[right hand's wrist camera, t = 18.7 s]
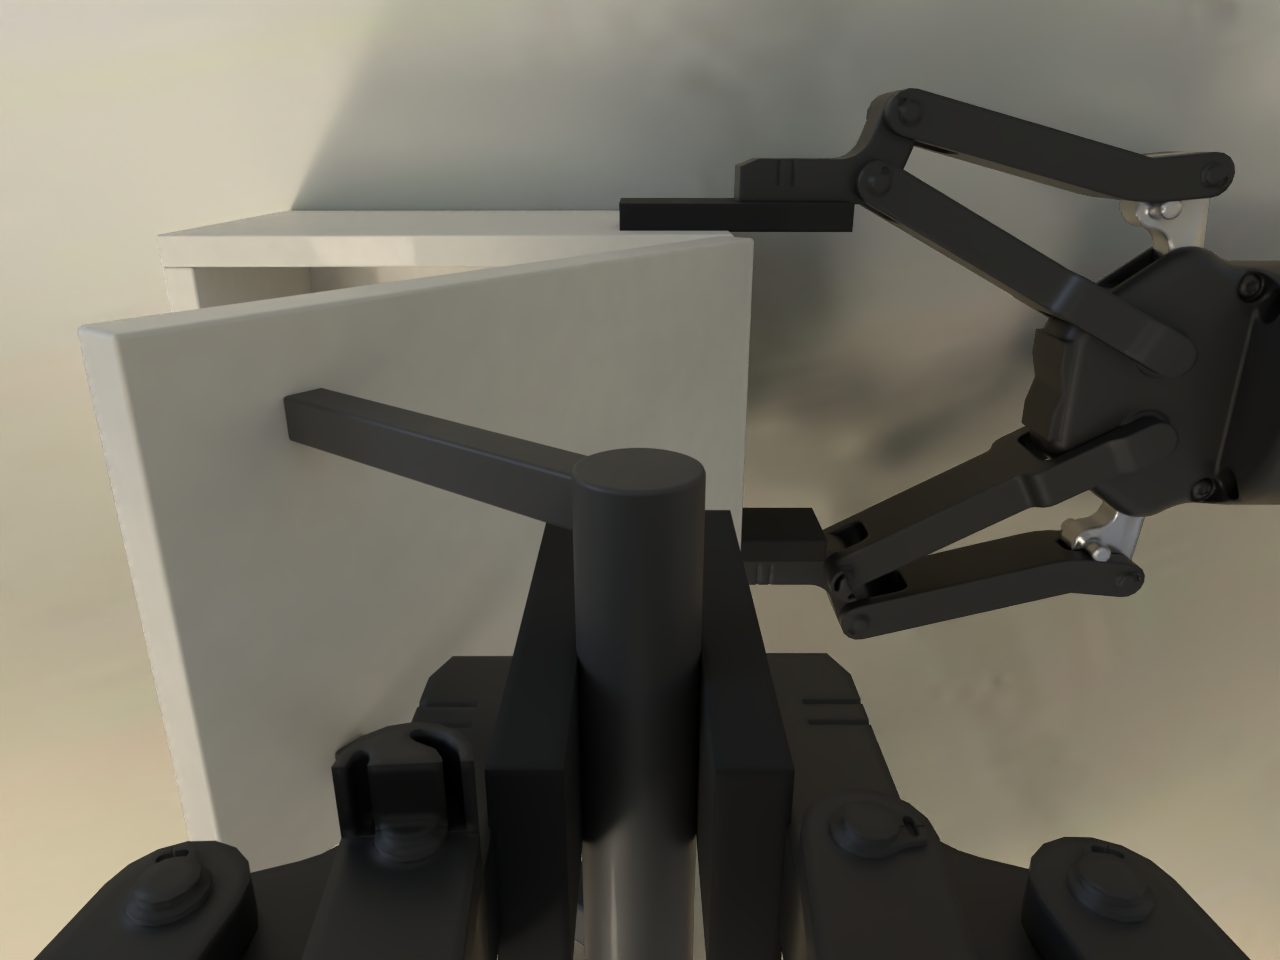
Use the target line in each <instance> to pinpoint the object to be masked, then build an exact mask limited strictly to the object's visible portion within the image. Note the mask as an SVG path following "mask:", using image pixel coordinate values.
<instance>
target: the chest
mask: <svg viewBox="0 0 1280 960" xmlns="http://www.w3.org/2000/svg"><path fill="white" fill-rule="evenodd" d="M717 236H726V237H734V235H733V234H732V233H730V232H729V231H620V222H619V210H496V211H284V212H278V213H273V214H268V215H262V216H257V217H252V218H246V219H241V220H236V221H230V222H225V223H220V224H214V225H209V226H204V227H198V228H193V229H188V230H182V231H177V232H172V233H166V234H161V235H157V242H158V248H159V253H160V259H161V264H162V266H163V267H165V268H163V273H164V278H165V284H166V289H167V295H168V300H169V306H170V311H171V313H173V312H180V311H187V310H195V309H202V308H209V307H216V306H223V305H230V304H237V303H245V302H252V301H259V300H266V299H273V298H280V297H288V296H295V295H302V294H309V293H316V292H323V291H330V290H338V289H345V288H352V287H359V286H366V285H373V284H381V283H388V282H395V281H402V280H409V279H416V278H423V277H431V276H438V275H445V274H452V273H459V272H466V271H474V270H481V269H488V268H495V267H502V266H509V265H516V264H524V263H531V262H538V261H545V260H552V259H559V258H567V257H574V256H581V255H588V254H595V253H602V252H610V251H617V250H624V249H631V248H638V247H645V246H652V245H660V244H667V243H674V242H681V241H688V240H695V239H703V238H710V237H717Z"/></svg>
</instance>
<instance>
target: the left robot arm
mask: <svg viewBox="0 0 1280 960" xmlns="http://www.w3.org/2000/svg"><path fill="white" fill-rule="evenodd" d="M866 119H867V121H866V124H865V126H864V128H863V131H862V133H861V136H860V138H859V140H858V142H857V144H856V145H855V147H854V148H853V149H852V150H851V151H850V152H848V153H847V154H846V155H844V156H841V157H839V158H752V159H750V160H747V161H745V162H743V163H740V164H738V165H735V188H734V198H621V200H620V203H619V222H620V231H729V232H852V228H853V216H854V204H859V205H861V206H862V207H864V208H866V209H868V210H869V211H871V212H873V213H874V214H876V215H878V216H879V217H881V218H883V219H884V220H886V221H888V222H890V223H891V224H893V225H895V226H896V227H898V228H900V229H901V230H903V231H905V232H906V233H908V234H910V235H911V236H913V237H915V238H917V239H918V240H920V241H922V242H923V243H925V244H927V245H928V246H930V247H932V248H933V249H935V250H937V251H939V252H940V253H942V254H944V255H945V256H947V257H949V258H950V259H952V260H954V261H955V262H957V263H959V264H961V265H962V266H964V267H966V268H967V269H969V270H971V271H972V272H974V273H976V274H977V275H979V276H981V277H982V278H984V279H986V280H988V281H989V282H991V283H993V284H994V285H996V286H998V287H999V288H1001V289H1003V290H1004V291H1006V292H1008V293H1009V294H1011V295H1013V296H1014V297H1015V298H1016V299H1018V300H1019V301H1021V302H1023V303H1024V304H1026V305H1028V306H1030V307H1031V308H1033V309H1035V310H1036V311H1038V312H1040V313H1041V314H1043V315H1045V316H1046V317H1048V318H1049V319H1048V321H1047V323H1046V324H1045V326H1044V329H1036V333H1035V340H1034V346H1033V352H1032V353H1033V362H1034V370H1035V378H1034V381H1033V383H1032V385H1031V388H1030V390H1029V392H1028V395H1027V397H1026V399H1025V404H1024V410H1023V417H1022V423H1023V424H1024V425H1026V426H1025V427H1022V428H1020V429H1018V430H1016V431H1014V432H1012V433H1010V434H1008V435H1006V436H1004V437H1002V438H1000V439H998V440H996V441H995V442H994V443H993V445H992V447H991V449H990V450H989V451H987V452H985V453H983V454H981V455H979V456H977V457H975V458H973V459H971V460H969V461H967V462H964V463H962V464H960V465H958V466H956V467H954V468H952V469H950V470H948V471H946V472H943V473H941V474H939V475H937V476H935V477H933V478H931V479H929V480H927V481H925V482H922V483H920V484H918V485H916V486H914V487H912V488H910V489H908V490H906V491H904V492H902V493H899V494H897V495H895V496H893V497H891V498H889V499H887V500H885V501H883V502H881V503H878V504H876V505H874V506H872V507H870V508H868V509H866V510H864V511H862V512H860V513H857V514H855V515H853V516H851V517H849V518H847V519H845V520H843V521H841V522H839V523H836V524H834V525H832V526H830V527H828V528H826V529H824V530H822V528H821V526H820V524H819V522H818V520H817V518H816V516H815V514H814V512H813V509H812V508H742V530H741V555H742V559H743V563H744V567H745V571H746V575H747V579H748V583H749V585H756V584H759V585H768V584H771V585H817V586H819V587H822V588H823V589H825V590H826V591H827V594H828V597H829V599H830V602H831V604H832V607H833V609H834V612H835V614H836V616H837V619H838V621H839V623H840V625H841V628H842V630H843V632H844V634H846V635H847V636H848V637H849V638H852V639H865V638H870V637H874V636H879V635H883V634H888V633H892V632H897V631H901V630H906V629H910V628H915V627H919V626H924V625H928V624H933V623H937V622H941V621H946V620H950V619H955V618H959V617H964V616H968V615H973V614H977V613H982V612H986V611H991V610H995V609H1000V608H1004V607H1009V606H1013V605H1018V604H1022V603H1027V602H1031V601H1036V600H1040V599H1044V598H1049V597H1053V596H1058V595H1062V594H1067V593H1081V594H1092V595H1104V596H1116V597H1126V596H1130V595H1132V594H1134V593H1136V592H1137V591H1138V590H1139V589H1140V588H1141V587H1142V585H1143V583H1144V577H1145V575H1144V573H1143V570H1142V569H1141V568H1140V567H1139V566H1137V565H1136V564H1135V563H1134V562H1133V561H1132V556H1133V553H1134V550H1135V546H1136V543H1137V540H1138V537H1139V534H1140V531H1141V528H1142V524H1143V521H1144V518H1145V517H1146V516H1151V515H1154V514H1157V513H1159V512H1161V511H1163V510H1165V509H1168V508H1170V507H1173V506H1176V505H1179V504H1183V503H1189V502H1196V503H1210V504H1227V505H1280V261H1226V260H1224V259H1221V258H1220V257H1218V256H1217V255H1215V254H1214V253H1213V252H1211V251H1209V250H1207V249H1204V241H1205V233H1206V225H1207V217H1208V209H1209V201H1210V198H1211V197H1215V196H1218V195H1220V194H1221V193H1223V192H1224V191H1225V190H1227V188H1228V187H1229V186H1230V184H1231V183H1232V181H1233V178H1234V174H1235V166H1234V163H1233V161H1232V159H1231V157H1229V156H1228V155H1226V154H1225V153H1219V152H1158V153H1147V154H1138V153H1134V152H1131V151H1128V150H1124V149H1121V148H1117V147H1114V146H1111V145H1107V144H1104V143H1100V142H1097V141H1094V140H1090V139H1087V138H1083V137H1080V136H1077V135H1073V134H1070V133H1066V132H1063V131H1060V130H1056V129H1053V128H1049V127H1046V126H1043V125H1039V124H1036V123H1032V122H1029V121H1026V120H1022V119H1019V118H1015V117H1012V116H1009V115H1005V114H1002V113H998V112H995V111H992V110H988V109H985V108H981V107H978V106H975V105H971V104H968V103H964V102H961V101H958V100H954V99H951V98H947V97H944V96H941V95H937V94H934V93H930V92H927V91H924V90H920V89H912V88H909V89H904V90H899V91H895V92H890V93H886V94H883V95H880V96H878V97H877V98H876V99H874V100H873V101H872V102H871V104H870V106H869V108H868V111H867V118H866ZM913 146H915V147H918V148H922V149H925V150H929V151H932V152H936V153H939V154H943V155H946V156H950V157H953V158H956V159H960V160H963V161H967V162H970V163H974V164H977V165H981V166H984V167H988V168H991V169H995V170H998V171H1002V172H1005V173H1009V174H1012V175H1016V176H1019V177H1023V178H1026V179H1029V180H1033V181H1036V182H1040V183H1043V184H1047V185H1050V186H1054V187H1057V188H1061V189H1064V190H1068V191H1071V192H1075V193H1078V194H1083V195H1087V196H1092V197H1100V198H1109V199H1118V200H1121V201H1120V204H1119V207H1120V210H1121V214H1122V217H1123V219H1124V220H1125V221H1126V222H1127V223H1128V224H1130V225H1133V226H1138V227H1143V228H1144V229H1146V230H1148V232H1149V233H1150V234H1151V236H1152V239H1153V247H1152V248H1150V249H1148V250H1146V251H1145V252H1143V253H1141V254H1140V255H1138V256H1137V257H1135V258H1134V259H1132V260H1131V261H1129V262H1128V263H1126V264H1125V265H1123V266H1121V267H1120V268H1118V269H1117V270H1115V271H1114V272H1112V273H1111V274H1109V275H1108V276H1106V277H1105V278H1103V279H1101V280H1100V281H1098V282H1097V283H1094V282H1092V281H1090V280H1089V279H1087V278H1085V277H1083V276H1080V275H1078V274H1076V273H1074V272H1072V271H1070V270H1068V269H1067V268H1065V267H1063V266H1062V265H1060V264H1058V263H1057V262H1055V261H1053V260H1052V259H1050V258H1048V257H1047V256H1045V255H1043V254H1042V253H1040V252H1039V251H1037V250H1035V249H1034V248H1032V247H1030V246H1029V245H1027V244H1025V243H1024V242H1022V241H1020V240H1019V239H1017V238H1015V237H1014V236H1012V235H1010V234H1009V233H1007V232H1005V231H1004V230H1002V229H1001V228H999V227H997V226H996V225H994V224H992V223H991V222H989V221H987V220H986V219H984V218H982V217H981V216H979V215H977V214H976V213H974V212H972V211H971V210H969V209H967V208H966V207H964V206H963V205H961V204H959V203H958V202H956V201H954V200H953V199H951V198H949V197H948V196H946V195H944V194H943V193H941V192H939V191H938V190H936V189H934V188H933V187H931V186H929V185H928V184H926V183H925V182H923V181H921V180H920V179H918V178H916V177H915V176H913V175H911V174H910V173H908V172H906V171H905V170H903V169H904V167H905V165H906V162H907V160H908V158H909V155H910V153H911V151H912V149H913ZM1048 458H1049V459H1050V460H1046V459H1048ZM1087 490H1090V491H1091V492H1093V493H1094V494H1095V495H1097V496H1098V497H1099V498H1100V499H1102V500H1103V502H1102V505H1101V507H1100V508H1099V509H1098V511H1097V512H1096V513H1094V514H1093V515H1091V516H1089V517H1086V518H1080V519H1067V520H1065V521H1064V522H1063V523H1062V525H1061V531H1057V530H1045V531H1034V532H1028V533H1023V534H1018V535H1014V536H1009V537H1005V538H1001V539H996V540H992V541H988V542H983V543H979V544H975V545H970V546H966V547H962V548H957V549H953V550H949V551H944V552H940V553H936V554H931V555H928V554H930V553H932V552H935V551H937V550H939V549H941V548H943V547H945V546H947V545H950V544H952V543H954V542H956V541H958V540H960V539H963V538H965V537H967V536H969V535H971V534H973V533H976V532H978V531H980V530H982V529H984V528H986V527H989V526H991V525H993V524H995V523H997V522H999V521H1002V520H1004V519H1006V518H1008V517H1010V516H1012V515H1015V514H1017V513H1019V512H1021V511H1023V510H1025V509H1028V508H1031V507H1050V506H1053V505H1056V504H1058V503H1061V502H1063V501H1065V500H1067V499H1069V498H1071V497H1074V496H1076V495H1078V494H1080V493H1082V492H1084V491H1087ZM926 555H927V556H926Z"/></svg>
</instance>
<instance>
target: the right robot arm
mask: <svg viewBox="0 0 1280 960" xmlns="http://www.w3.org/2000/svg"><path fill="white" fill-rule="evenodd" d="M331 771H332V778H333V784H334V791H335V798H336V805H337V812H338V819H339V826H340V833H341V840H340V843H339V845H338V846H336V847H334V848H332V849H330V850H328V851H326V852H324V853H322V854H320V855H316V856H313V857H310V858H307V859H304V860H301V861H297V862H293V863H289V864H285V865H281V866H277V867H272V868H268V869H264V870H260V871H256V872H252V873H251V872H250V867H249V861H248V860H247V859H246V858H245V857H244V856H243V854H242V853H241V852H240V851H239V850H238V849H237V848H236V847H233V846H230V845H227V844H224V843H221V842H218V841H187V842H183V843H180V844H176V845H172V846H169V847H165V848H161V849H158V850H156V851H154V852H152V853H150V854H148V855H146V856H144V857H142V858H140V859H138V860H136V861H134V862H132V863H130V864H129V865H128V866H126V867H125V868H124V869H123V870H121V871H120V872H119V873H118V874H117V875H115V876H114V877H113V878H112V879H111V880H109V881H108V882H107V883H106V884H105V885H104V886H103V887H102V888H101V889H100V890H99V891H98V892H97V893H96V894H95V895H94V896H93V897H92V898H91V899H90V901H89V902H88V903H87V904H86V905H85V906H84V907H83V908H82V909H81V910H80V911H79V912H78V913H77V914H76V915H75V916H74V918H73V919H72V920H71V921H70V922H69V923H68V924H67V925H66V926H65V927H64V928H63V929H62V930H61V931H60V932H59V933H58V935H57V936H56V937H55V938H54V939H53V940H52V941H51V942H50V943H49V944H48V945H47V946H46V947H45V948H44V949H43V950H42V951H41V953H40V954H39V955H38V956H37V957H36V958H35V959H34V960H497V954H498V960H573V953H574V941H575V929H576V916H577V904H578V892H579V880H580V868H581V855H582V843H583V830H582V794H581V758H580V723H579V687H578V654H577V651H576V625H575V590H574V555H573V531H570V530H567V529H564V528H561V527H558V526H555V525H552V524H549V523H546V525H545V529H544V533H543V537H542V541H541V545H540V549H539V553H538V557H537V561H536V565H535V569H534V573H533V577H532V581H531V585H530V589H529V593H528V597H527V601H526V605H525V609H524V613H523V617H522V621H521V625H520V629H519V633H518V637H517V641H516V645H515V649H514V653H513V656H452V657H451V658H450V659H449V660H448V661H447V662H446V663H444V664H443V665H442V666H441V667H440V668H439V669H438V670H437V671H436V672H434V673H433V674H432V675H431V676H430V677H429V679H428V681H427V684H426V686H425V689H424V691H423V694H422V696H421V699H420V701H419V707H417V709H416V711H415V714H414V716H413V719H412V721H411V722H410V723H403V724H397V725H391V726H386V727H384V728H381V729H379V730H376V731H374V732H371V733H369V734H366V735H363V736H362V737H360V738H359V739H358V740H356V741H355V742H353V743H352V744H351V745H349V746H348V747H346V748H345V749H344V750H343V751H342V752H341V754H340V755H339V756H338V758H337V759H336V761H335V762H334V764H333V765H332V767H331ZM696 839H697V851H698V863H699V875H700V888H701V900H702V912H703V925H704V937H705V949H706V960H781V954H783V960H1250V959H1249V958H1248V957H1247V956H1246V954H1245V953H1244V952H1243V951H1242V950H1241V949H1240V948H1239V947H1238V946H1237V945H1236V944H1235V943H1234V942H1233V941H1232V940H1231V939H1230V938H1229V937H1228V935H1227V934H1226V933H1225V932H1224V931H1223V930H1222V929H1221V928H1220V927H1219V926H1218V925H1217V924H1216V923H1215V922H1214V921H1213V920H1212V919H1211V918H1210V916H1209V915H1208V914H1207V913H1206V912H1205V911H1204V910H1203V909H1202V908H1201V907H1200V906H1199V905H1198V904H1197V903H1196V902H1195V901H1194V900H1193V899H1192V897H1191V896H1190V895H1189V894H1188V893H1187V892H1186V891H1185V890H1184V889H1183V888H1182V887H1181V886H1180V885H1179V884H1178V883H1177V882H1176V881H1175V880H1174V879H1173V878H1172V877H1171V876H1169V875H1168V874H1167V873H1166V872H1164V871H1163V870H1162V869H1161V868H1160V867H1158V866H1157V865H1156V864H1155V863H1153V862H1152V861H1151V860H1149V859H1147V858H1145V857H1143V856H1141V855H1139V854H1137V853H1135V852H1133V851H1131V850H1129V849H1127V848H1125V847H1124V846H1121V845H1118V844H1114V843H1110V842H1107V841H1103V840H1099V839H1095V838H1091V837H1063V838H1060V839H1057V840H1054V841H1051V842H1047V843H1044V844H1043V845H1042V846H1041V847H1040V848H1039V849H1038V851H1037V852H1036V853H1035V854H1034V855H1033V856H1032V857H1031V862H1030V867H1029V869H1026V868H1022V867H1018V866H1014V865H1009V864H1005V863H1001V862H997V861H993V860H988V859H984V858H980V857H977V856H974V855H971V854H968V853H965V852H962V851H959V850H956V849H954V848H952V847H950V846H948V845H946V844H944V843H942V842H940V839H939V836H938V835H937V833H936V831H935V830H934V828H933V827H932V825H931V823H930V822H929V820H928V818H926V817H925V816H924V815H923V814H922V813H920V812H919V811H918V810H917V809H915V808H914V807H913V806H912V805H910V804H909V803H907V802H905V801H903V800H901V799H900V797H899V794H898V792H897V789H896V787H895V784H894V782H893V779H892V777H891V774H890V772H889V769H888V767H887V764H886V762H885V759H884V757H883V754H882V752H881V749H880V747H879V744H878V742H877V739H876V737H875V734H874V732H873V729H872V727H871V725H869V719H868V717H867V714H866V712H865V709H864V707H863V704H861V702H860V697H859V694H858V692H857V689H856V687H855V684H854V682H853V679H852V677H851V674H849V673H848V672H847V671H846V670H845V669H844V668H843V667H842V666H840V665H839V664H838V663H837V662H836V661H835V660H834V659H833V658H831V657H830V656H829V655H828V654H827V653H766V652H765V648H764V644H763V640H762V636H761V632H760V628H759V624H758V620H757V615H756V611H755V607H754V603H753V599H752V595H751V591H750V587H749V583H748V579H747V575H746V571H745V567H744V563H743V559H742V555H741V551H740V547H739V543H738V539H737V535H736V531H735V527H734V523H733V519H732V515H731V511H730V510H705V528H704V565H703V602H702V638H701V673H700V709H699V746H698V782H697V819H696Z"/></svg>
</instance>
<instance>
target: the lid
mask: <svg viewBox="0 0 1280 960" xmlns="http://www.w3.org/2000/svg"><path fill="white" fill-rule="evenodd" d="M753 251H754V240H753V239H751V238H741V237H726V236H717V237H710V238H703V239H695V240H688V241H681V242H674V243H667V244H660V245H652V246H645V247H638V248H631V249H624V250H617V251H610V252H602V253H595V254H588V255H581V256H574V257H567V258H559V259H552V260H545V261H538V262H531V263H524V264H516V265H509V266H502V267H495V268H488V269H481V270H474V271H466V272H459V273H452V274H445V275H438V276H431V277H423V278H416V279H409V280H402V281H395V282H388V283H381V284H373V285H366V286H359V287H352V288H345V289H338V290H330V291H323V292H316V293H309V294H302V295H295V296H288V297H280V298H273V299H266V300H259V301H252V302H245V303H237V304H230V305H223V306H216V307H209V308H202V309H195V310H187V311H180V312H173V313H166V314H159V315H152V316H144V317H137V318H130V319H123V320H116V321H109V322H102V323H94V324H87V325H82V326H81V327H79V328H78V332H77V333H78V337H79V342H80V346H81V351H82V355H83V360H84V364H85V369H86V374H87V378H88V383H89V387H90V392H91V396H92V401H93V405H94V410H95V414H96V419H97V423H98V428H99V432H100V437H101V442H102V446H103V451H104V455H105V460H106V464H107V469H108V473H109V478H110V482H111V487H112V491H113V496H114V500H115V505H116V510H117V514H118V519H119V523H120V528H121V532H122V537H123V541H124V546H125V550H126V555H127V559H128V564H129V569H130V573H131V578H132V582H133V587H134V591H135V596H136V600H137V605H138V609H139V614H140V618H141V623H142V627H143V632H144V637H145V641H146V646H147V650H148V655H149V659H150V664H151V668H152V673H153V677H154V682H155V686H156V691H157V695H158V700H159V705H160V709H161V714H162V718H163V723H164V727H165V732H166V736H167V741H168V745H169V750H170V754H171V759H172V763H173V768H174V773H175V777H176V782H177V786H178V791H179V795H180V800H181V804H182V809H183V813H184V818H185V822H186V827H187V831H188V836H189V841H218V842H221V843H224V844H227V845H230V846H233V847H236V848H237V849H238V850H239V851H240V852H241V853H242V854H243V856H244V857H245V858H246V859H247V860H248V861H249V867H250V872H251V873H252V872H256V871H260V870H264V869H268V868H272V867H277V866H281V865H285V864H289V863H293V862H297V861H301V860H304V859H307V858H310V857H313V856H316V855H320V854H322V853H324V852H326V851H328V850H329V849H331V848H332V847H334V846H335V845H337V844H338V843H340V840H341V833H340V826H339V819H338V812H337V805H336V798H335V791H334V784H333V778H332V771H331V767H332V765H333V764H334V762H335V761H336V759H337V758H338V756H339V755H340V754H341V752H342V751H343V750H344V749H345V748H346V747H348V746H349V745H351V744H352V743H353V742H355V741H356V740H358V739H359V738H360V737H362V736H363V735H366V734H369V733H371V732H374V731H376V730H379V729H381V728H384V727H386V726H391V725H397V724H403V723H410V722H411V721H412V719H413V716H414V714H415V711H416V709H417V707H419V701H420V699H421V696H422V694H423V691H424V689H425V686H426V684H427V681H428V679H429V677H430V676H431V675H432V674H433V673H434V672H436V671H437V670H438V669H439V668H440V667H441V666H442V665H443V664H444V663H446V662H447V661H448V660H449V659H450V658H451V657H452V656H513V653H514V649H515V645H516V641H517V637H518V633H519V629H520V625H521V621H522V617H523V613H524V609H525V605H526V601H527V597H528V593H529V589H530V585H531V581H532V577H533V573H534V569H535V565H536V561H537V557H538V553H539V549H540V545H541V541H542V537H543V533H544V529H545V525H546V523H549V524H552V525H555V526H558V527H561V528H564V529H567V530H570V531H573V555H574V590H575V625H576V651H577V654H578V687H579V723H580V758H581V794H582V830H583V843H582V861H581V868H580V880H579V892H578V904H577V916H576V929H575V940H577V941H578V942H580V943H581V944H583V945H584V946H585V960H693V931H694V894H695V857H696V819H697V782H698V746H699V709H700V673H701V638H702V602H703V565H704V528H705V510H730V511H731V515H732V519H733V523H734V527H735V531H736V535H737V539H738V543H739V547H740V551H741V530H742V507H743V483H744V460H745V437H746V414H747V391H748V367H749V344H750V321H751V298H752V275H753Z"/></svg>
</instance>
